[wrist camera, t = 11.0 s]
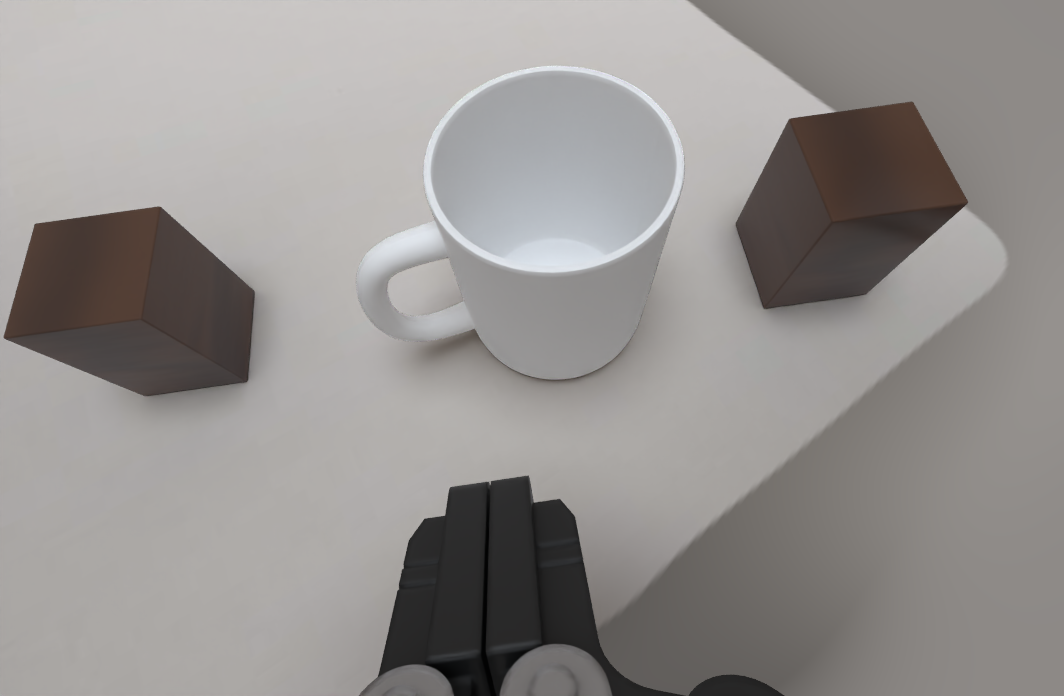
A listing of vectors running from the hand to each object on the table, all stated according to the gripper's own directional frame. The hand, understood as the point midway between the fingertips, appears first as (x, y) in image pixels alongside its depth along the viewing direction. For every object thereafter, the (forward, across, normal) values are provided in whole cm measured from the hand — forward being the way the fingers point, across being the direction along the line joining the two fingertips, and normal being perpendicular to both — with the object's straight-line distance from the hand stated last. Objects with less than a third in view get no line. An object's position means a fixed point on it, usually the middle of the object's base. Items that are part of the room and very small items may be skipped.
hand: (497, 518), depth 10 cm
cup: (+16, -1, +2) cm, 17 cm away
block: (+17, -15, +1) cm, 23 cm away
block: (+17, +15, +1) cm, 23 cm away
